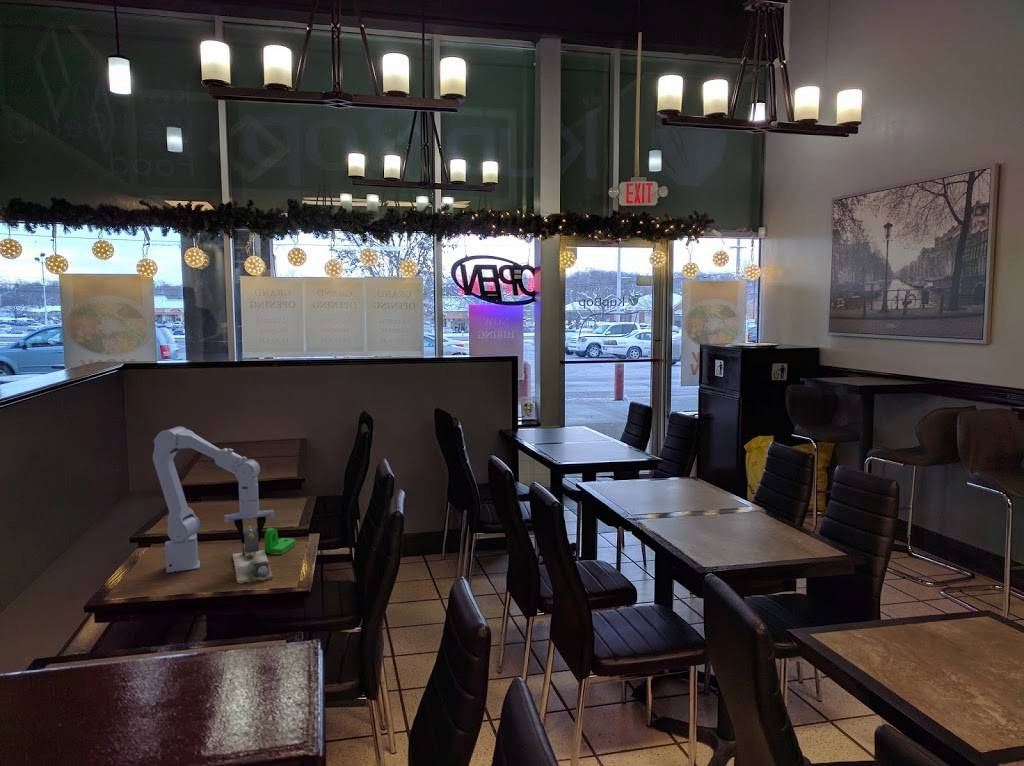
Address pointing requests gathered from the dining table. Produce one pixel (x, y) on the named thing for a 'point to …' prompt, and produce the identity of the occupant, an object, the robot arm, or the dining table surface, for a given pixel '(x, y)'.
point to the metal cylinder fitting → (248, 555)
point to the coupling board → (243, 571)
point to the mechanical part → (276, 542)
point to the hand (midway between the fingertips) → (250, 541)
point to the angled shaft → (259, 568)
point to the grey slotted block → (250, 539)
